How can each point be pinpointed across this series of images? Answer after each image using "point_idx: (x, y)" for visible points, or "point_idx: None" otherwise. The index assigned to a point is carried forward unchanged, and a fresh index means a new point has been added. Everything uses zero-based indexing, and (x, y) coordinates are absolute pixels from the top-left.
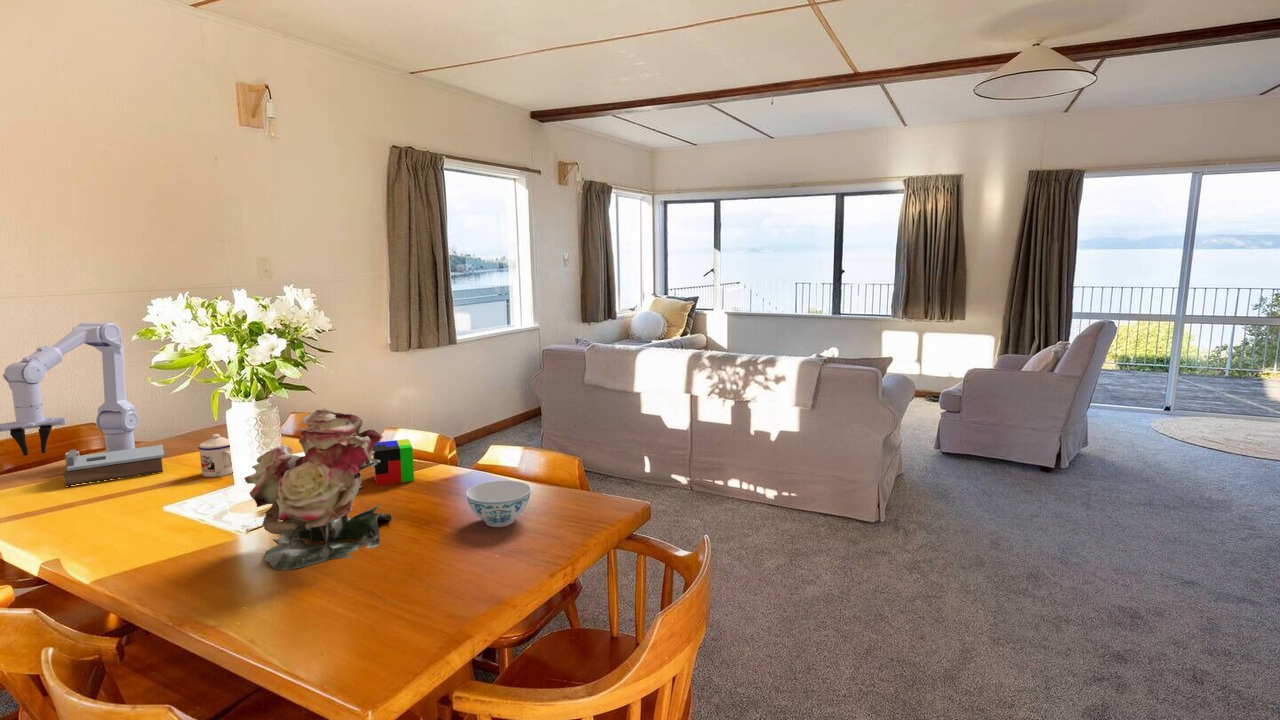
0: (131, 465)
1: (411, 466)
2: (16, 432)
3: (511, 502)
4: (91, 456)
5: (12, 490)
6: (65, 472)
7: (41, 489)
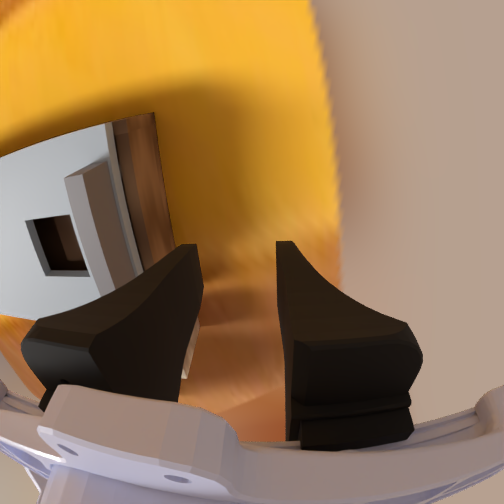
0: None
1: None
2: (358, 380)
3: None
4: (86, 295)
5: (331, 188)
6: (120, 120)
7: (234, 135)
